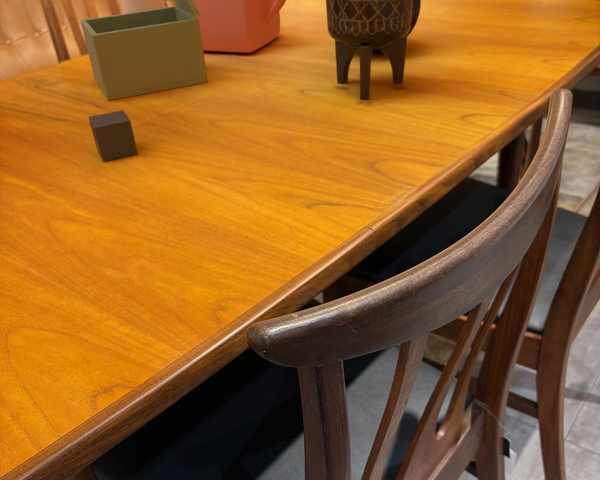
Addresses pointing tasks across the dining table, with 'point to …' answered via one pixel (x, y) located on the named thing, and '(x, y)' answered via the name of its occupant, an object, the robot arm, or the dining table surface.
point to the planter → (369, 35)
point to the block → (113, 135)
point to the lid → (188, 6)
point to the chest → (145, 51)
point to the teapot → (238, 23)
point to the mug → (141, 5)
